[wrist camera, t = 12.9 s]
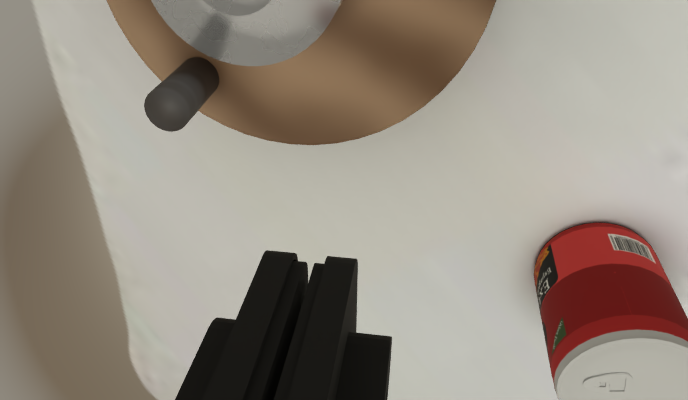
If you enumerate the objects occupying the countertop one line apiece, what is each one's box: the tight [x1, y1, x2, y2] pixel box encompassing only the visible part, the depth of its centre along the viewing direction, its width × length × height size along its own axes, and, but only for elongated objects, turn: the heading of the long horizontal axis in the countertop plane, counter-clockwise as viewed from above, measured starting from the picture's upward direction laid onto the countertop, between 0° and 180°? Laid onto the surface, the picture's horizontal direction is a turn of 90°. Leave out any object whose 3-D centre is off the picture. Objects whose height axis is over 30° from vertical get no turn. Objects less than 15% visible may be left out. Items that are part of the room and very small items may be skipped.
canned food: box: [534, 223, 688, 400], centre depth 37 cm, size 8×8×11 cm
